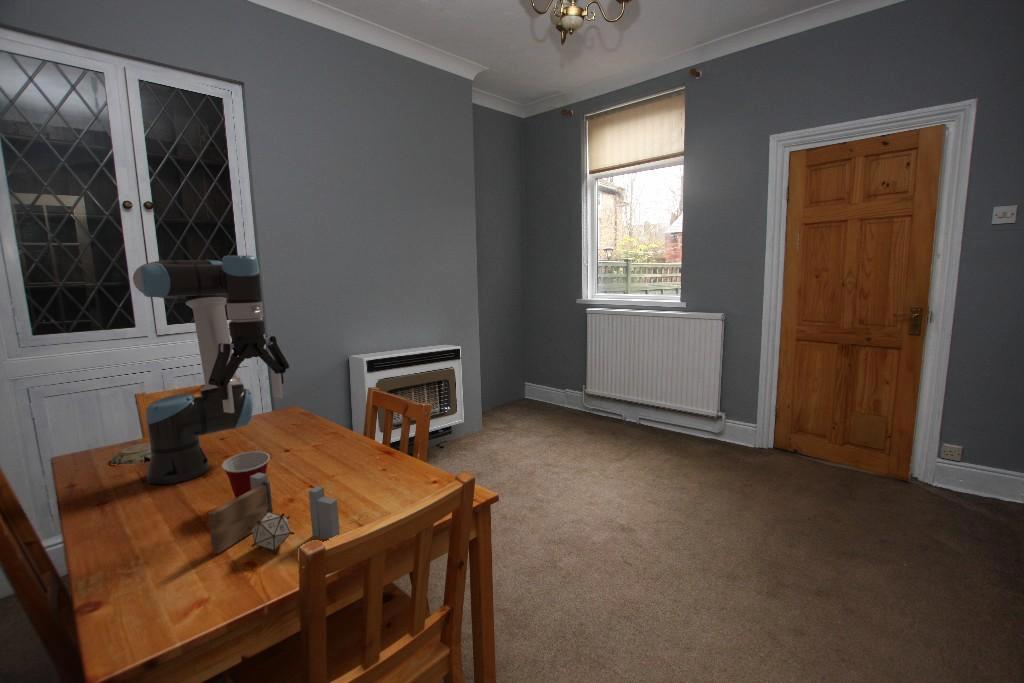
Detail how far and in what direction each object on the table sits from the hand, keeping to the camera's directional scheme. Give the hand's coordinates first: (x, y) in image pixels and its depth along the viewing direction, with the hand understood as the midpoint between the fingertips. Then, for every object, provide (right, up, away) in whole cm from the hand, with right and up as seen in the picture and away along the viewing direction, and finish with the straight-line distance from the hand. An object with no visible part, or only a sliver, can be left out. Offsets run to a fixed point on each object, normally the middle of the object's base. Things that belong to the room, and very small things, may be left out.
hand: (254, 404), depth 117 cm
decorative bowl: (-58, -23, +36) cm, 72 cm away
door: (+3, -28, -10) cm, 30 cm away
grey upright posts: (+13, -28, -7) cm, 32 cm away
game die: (+12, -30, -15) cm, 35 cm away
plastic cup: (-4, -27, +5) cm, 27 cm away
